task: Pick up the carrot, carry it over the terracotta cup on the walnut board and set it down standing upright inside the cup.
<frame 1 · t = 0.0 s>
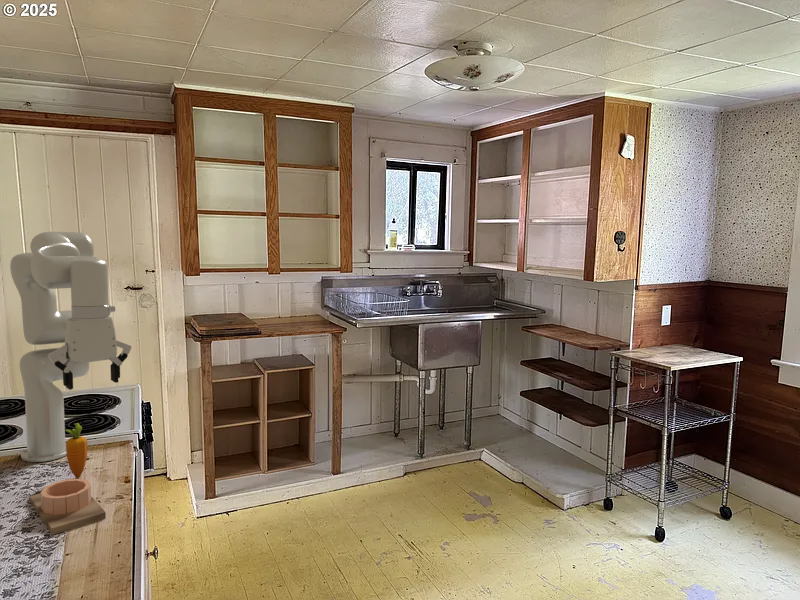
hand: (92, 384, 130), 31 cm above the worktop, tool pointing down, fingers open, 9 cm apart
walnut board: (66, 509, 133), on the worktop
carrot: (77, 478, 150), on the worktop
terracotta cup: (66, 503, 133), resting on walnut board
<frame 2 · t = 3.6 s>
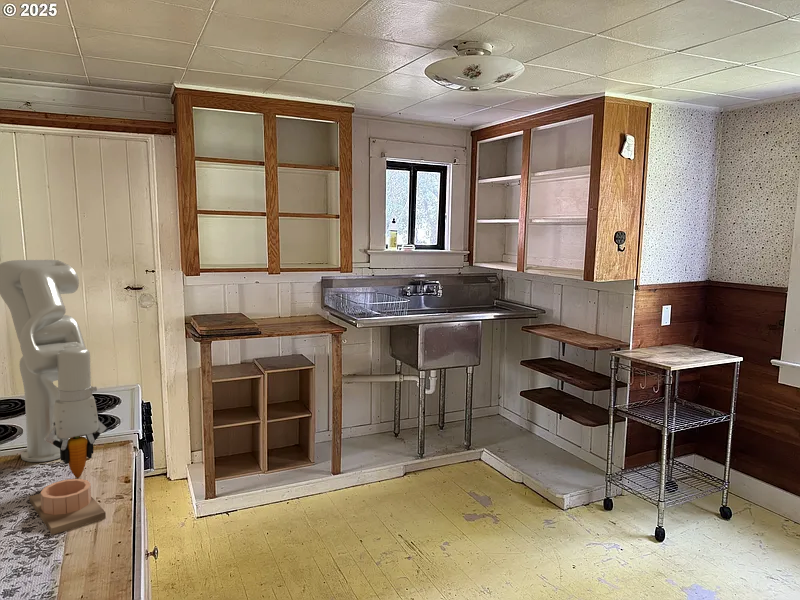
hand: (77, 458, 149), 5 cm above the worktop, tool pointing down, fingers closed on carrot, 4 cm apart
carrot: (77, 478, 150), on the worktop, touching gripper
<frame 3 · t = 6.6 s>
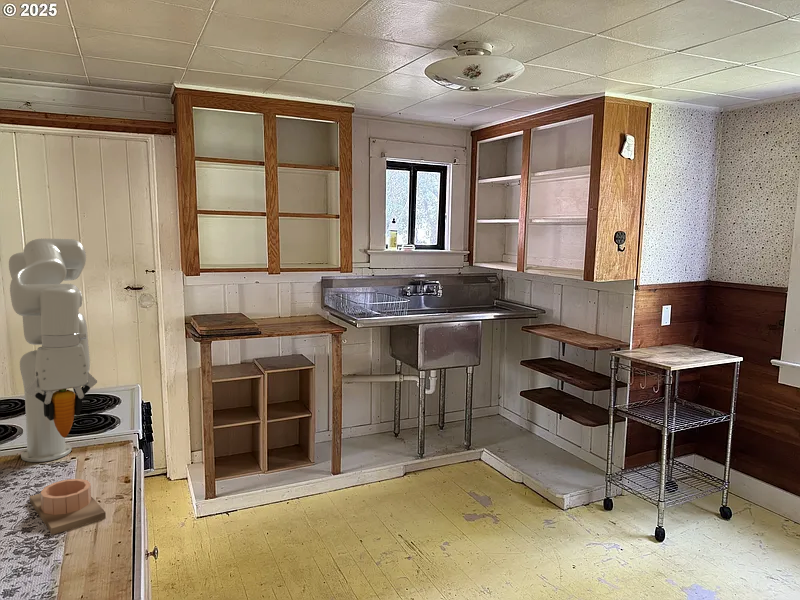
hand: (63, 415, 131), 23 cm above the worktop, tool pointing down, fingers closed on carrot, 4 cm apart
carrot: (64, 438, 131), point 18 cm above the worktop, touching gripper
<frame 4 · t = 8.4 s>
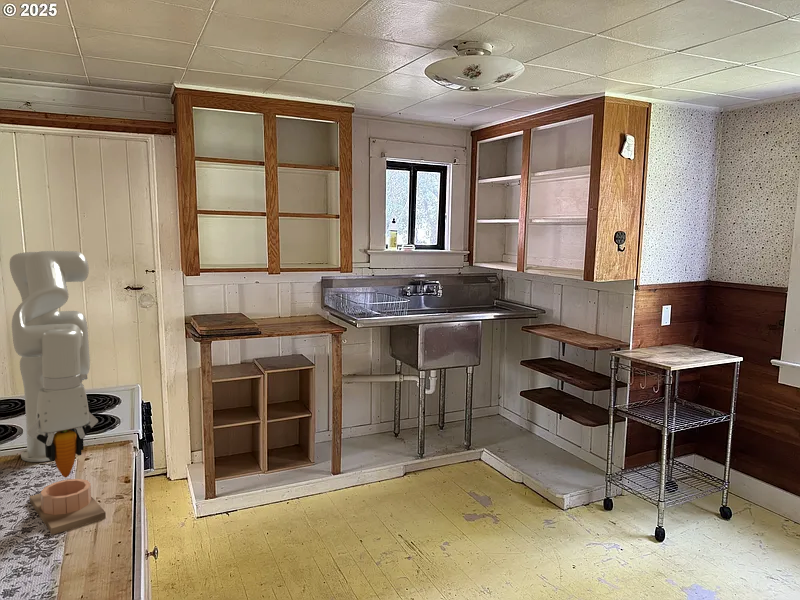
hand: (65, 455, 132), 14 cm above the worktop, tool pointing down, fingers closed on carrot, 4 cm apart
carrot: (65, 478, 132), point 8 cm above the worktop, touching gripper
when the fingers open (8 cm above the worktop, at t = 9.8 s): carrot drops 1 cm, resting on walnut board.
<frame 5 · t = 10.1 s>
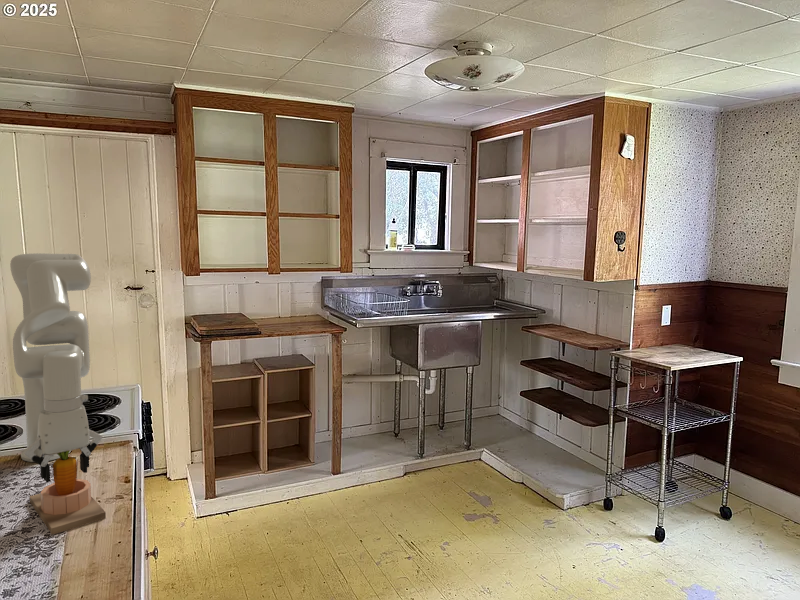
hand: (65, 475, 132), 9 cm above the worktop, tool pointing down, fingers open, 7 cm apart
carrot: (66, 504, 133), point 1 cm above the worktop, touching walnut board
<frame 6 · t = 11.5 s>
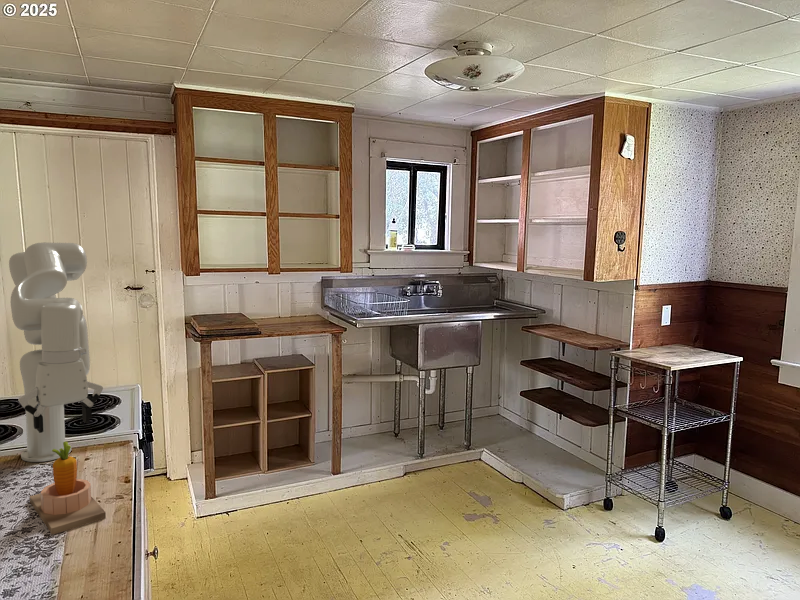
hand: (63, 426, 131), 21 cm above the worktop, tool pointing down, fingers open, 9 cm apart
nothing on the worktop moved.
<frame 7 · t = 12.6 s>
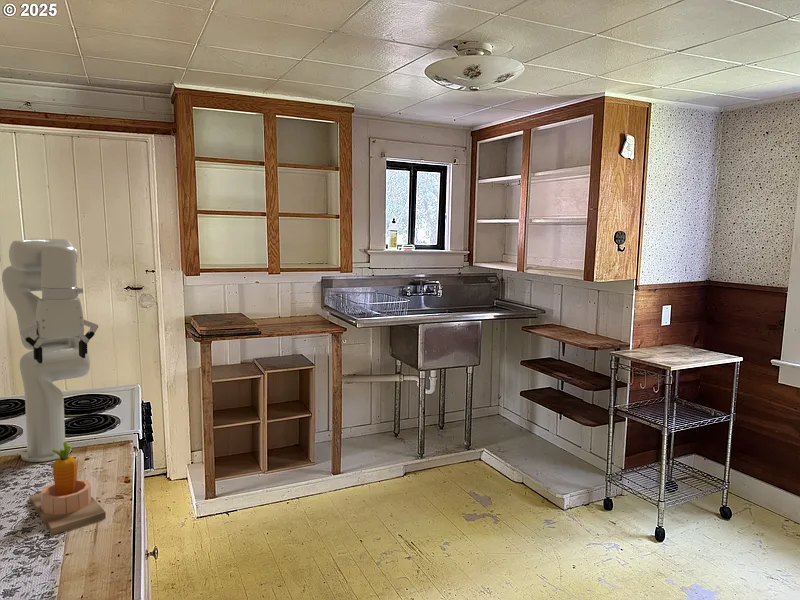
hand: (61, 359, 142), 34 cm above the worktop, tool pointing down, fingers open, 9 cm apart
nothing on the worktop moved.
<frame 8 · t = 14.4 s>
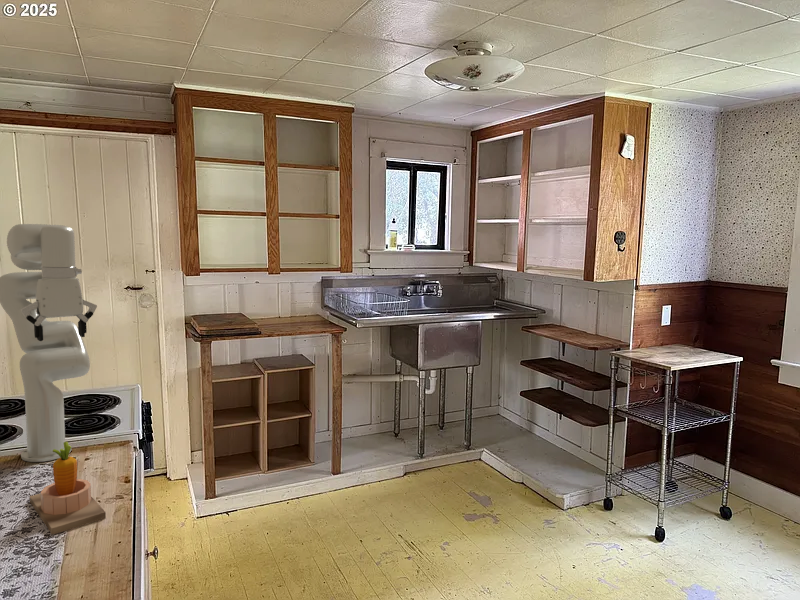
hand: (61, 338, 146), 38 cm above the worktop, tool pointing down, fingers open, 9 cm apart
nothing on the worktop moved.
at the end: carrot 0.2 cm off-centre on the terracotta cup, point 0.0 cm above the terracotta cup's base; carrot tilted 0°; the gripper is holding nothing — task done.
